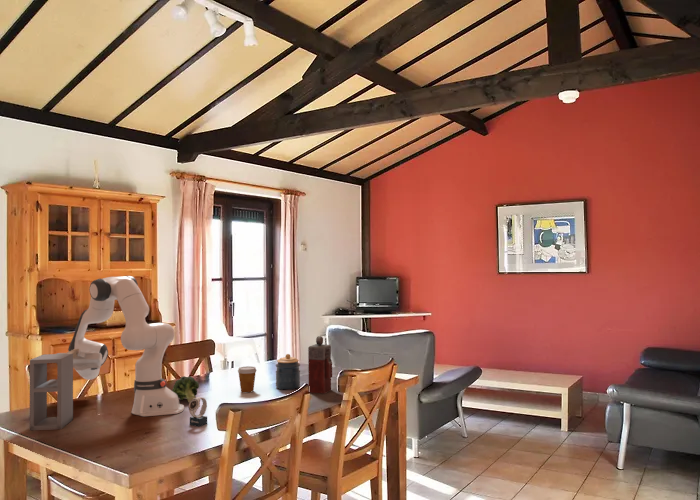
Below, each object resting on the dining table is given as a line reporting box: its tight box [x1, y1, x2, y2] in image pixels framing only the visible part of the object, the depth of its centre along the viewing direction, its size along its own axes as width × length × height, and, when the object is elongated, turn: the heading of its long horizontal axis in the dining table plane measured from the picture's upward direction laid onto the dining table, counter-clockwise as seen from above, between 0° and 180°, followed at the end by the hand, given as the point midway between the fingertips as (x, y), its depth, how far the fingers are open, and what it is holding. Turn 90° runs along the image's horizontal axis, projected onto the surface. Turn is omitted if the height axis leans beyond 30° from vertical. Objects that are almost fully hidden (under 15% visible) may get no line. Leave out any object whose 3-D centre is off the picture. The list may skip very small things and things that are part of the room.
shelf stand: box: [29, 353, 74, 431], centre depth 242 cm, size 12×18×28 cm, turn 7°
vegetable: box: [171, 376, 200, 404], centre depth 279 cm, size 12×13×15 cm
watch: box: [188, 396, 208, 428], centre depth 238 cm, size 6×8×11 cm
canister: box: [275, 353, 301, 390], centre depth 307 cm, size 13×13×18 cm
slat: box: [64, 349, 79, 358], centre depth 259 cm, size 2×22×3 cm, turn 7°
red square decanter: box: [307, 335, 333, 395], centre depth 297 cm, size 9×11×28 cm
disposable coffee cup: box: [237, 365, 257, 393], centre depth 298 cm, size 10×10×12 cm
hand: (74, 352), depth 266 cm, fingers closed on slat, 2 cm apart
